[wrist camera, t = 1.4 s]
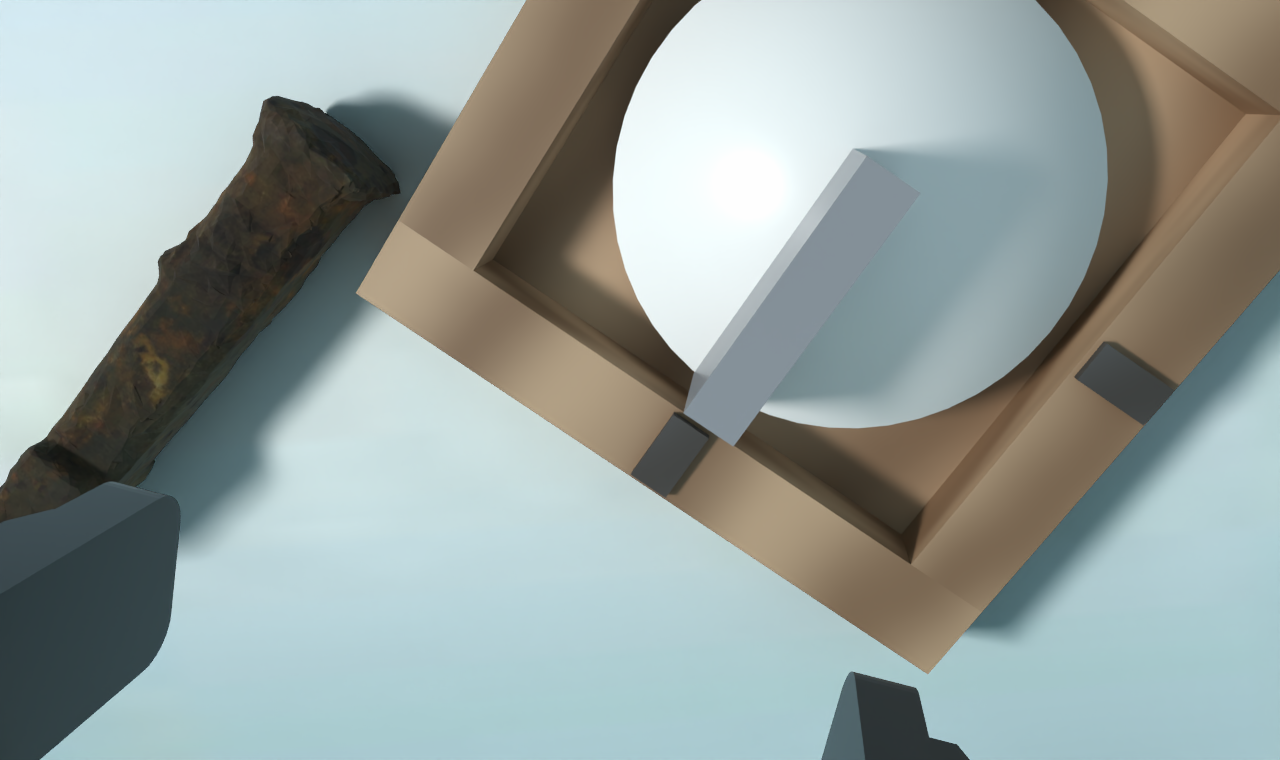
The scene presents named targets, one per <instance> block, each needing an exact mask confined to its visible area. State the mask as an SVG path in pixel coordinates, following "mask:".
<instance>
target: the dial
mask: <svg viewBox="0 0 1280 760" xmlns="http://www.w3.org/2000/svg"><path fill="white" fill-rule="evenodd" d="M1107 183H1108V172H1107V146H1106V140H1105V134H1104V128H1103V122H1102V116H1101V112H1100V109H1099V106H1098V103H1097V100H1096V97H1095V93H1094V90H1093V87H1092V84H1091V82H1090V79H1089V77H1088V75H1087V73H1086V71H1085V69H1084V67H1083V65H1082V63H1081V61H1080V59H1079V57H1078V55H1077V53H1076V51H1075V50H1074V48H1073V47H1072V45H1071V44H1070V42H1069V41H1068V39H1067V38H1066V36H1065V35H1064V33H1063V32H1062V30H1061V29H1060V27H1059V26H1058V25H1057V23H1056V22H1055V21H1054V20H1053V19H1052V18H1051V17H1050V16H1049V15H1048V13H1047V12H1046V11H1045V10H1044V9H1043V8H1042V7H1041V6H1040V5H1039V4H1038V2H1037V1H1036V0H701V1H700V2H698V3H697V4H696V5H695V6H694V7H693V8H692V9H691V10H690V11H689V12H688V13H687V14H686V15H685V16H684V18H683V19H682V20H681V21H680V22H679V23H678V24H677V25H676V26H675V27H674V28H673V29H672V30H671V32H670V33H669V34H668V36H667V37H666V39H665V40H664V41H663V43H662V44H661V46H660V47H659V48H658V50H657V51H656V52H655V54H654V55H653V57H652V58H651V60H650V62H649V64H648V66H647V67H646V69H645V71H644V73H643V75H642V77H641V78H640V80H639V82H638V84H637V86H636V88H635V91H634V93H633V96H632V98H631V101H630V104H629V106H628V109H627V111H626V114H625V116H624V120H623V124H622V128H621V132H620V136H619V140H618V144H617V149H616V157H615V166H614V175H613V212H614V219H615V227H616V234H617V241H618V245H619V248H620V252H621V256H622V259H623V263H624V267H625V270H626V273H627V275H628V278H629V280H630V282H631V285H632V287H633V290H634V292H635V294H636V297H637V299H638V301H639V302H640V304H641V306H642V308H643V309H644V311H645V313H646V314H647V316H648V318H649V320H650V321H651V323H652V325H653V326H654V327H655V329H656V330H657V331H658V333H659V334H660V335H661V337H662V338H663V339H664V340H665V342H666V343H667V344H668V346H669V347H670V348H671V349H672V350H673V351H674V352H675V353H676V354H677V355H678V356H679V357H680V358H681V359H682V360H683V361H684V362H685V363H686V364H687V365H688V366H689V367H690V368H691V369H692V370H693V371H694V374H693V378H692V382H691V386H690V389H689V393H688V397H687V401H686V405H685V409H684V414H685V415H687V416H688V417H690V418H691V419H693V420H694V421H696V422H697V423H699V424H700V425H702V426H703V427H705V428H706V429H708V430H709V431H711V432H712V433H714V434H715V435H717V436H718V437H720V438H721V439H723V440H724V441H726V442H727V443H729V444H730V445H732V446H734V445H735V444H736V442H737V441H738V440H739V438H740V437H741V436H742V434H743V433H744V432H745V430H746V429H747V427H748V426H749V425H750V423H751V422H752V421H753V419H754V418H755V417H756V415H757V414H758V413H759V411H761V412H764V413H766V414H768V415H772V416H775V417H779V418H782V419H786V420H789V421H793V422H796V423H801V424H808V425H815V426H821V427H828V428H867V427H877V426H888V425H893V424H897V423H902V422H906V421H911V420H916V419H920V418H922V417H925V416H928V415H931V414H934V413H937V412H940V411H942V410H945V409H948V408H950V407H952V406H954V405H956V404H958V403H960V402H962V401H964V400H966V399H968V398H970V397H972V396H974V395H976V394H978V393H980V392H981V391H983V390H984V389H986V388H987V387H989V386H990V385H992V384H993V383H995V382H996V381H998V380H999V379H1001V378H1002V377H1004V376H1005V375H1006V374H1007V373H1009V372H1010V371H1011V370H1012V369H1013V368H1014V367H1016V366H1017V365H1018V364H1019V363H1020V362H1022V361H1023V360H1024V359H1025V358H1026V357H1027V356H1028V355H1029V354H1030V353H1031V352H1032V351H1033V350H1034V349H1035V348H1036V347H1037V346H1038V345H1039V344H1040V342H1041V341H1042V340H1043V339H1044V338H1045V337H1046V336H1047V335H1048V334H1049V333H1050V331H1051V330H1052V329H1053V327H1054V326H1055V324H1056V323H1057V322H1058V320H1059V319H1060V317H1061V316H1062V315H1063V313H1064V312H1065V311H1066V309H1067V308H1068V306H1069V305H1070V303H1071V301H1072V299H1073V297H1074V295H1075V294H1076V292H1077V290H1078V288H1079V286H1080V284H1081V282H1082V281H1083V279H1084V277H1085V274H1086V272H1087V269H1088V267H1089V264H1090V261H1091V259H1092V256H1093V254H1094V251H1095V248H1096V246H1097V242H1098V238H1099V233H1100V229H1101V225H1102V221H1103V217H1104V212H1105V202H1106V193H1107Z"/></svg>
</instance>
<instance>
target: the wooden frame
mask: <svg viewBox="0 0 1280 760" xmlns="http://www.w3.org/2000/svg"><path fill="white" fill-rule="evenodd" d="M700 1H701V0H526V2H525V4H524V5H523V7H522V9H521V10H520V12H519V14H518V16H517V17H516V19H515V21H514V22H513V24H512V26H511V28H510V29H509V31H508V33H507V34H506V36H505V38H504V40H503V41H502V43H501V45H500V46H499V48H498V50H497V52H496V53H495V55H494V57H493V58H492V60H491V62H490V64H489V65H488V67H487V69H486V70H485V72H484V74H483V76H482V77H481V79H480V81H479V82H478V84H477V86H476V88H475V89H474V91H473V93H472V95H471V96H470V98H469V100H468V101H467V103H466V105H465V107H464V108H463V110H462V112H461V113H460V115H459V117H458V119H457V120H456V122H455V124H454V125H453V127H452V129H451V131H450V132H449V134H448V136H447V137H446V139H445V141H444V143H443V144H442V146H441V148H440V149H439V151H438V153H437V155H436V156H435V158H434V160H433V161H432V163H431V165H430V167H429V168H428V170H427V172H426V173H425V175H424V177H423V179H422V180H421V182H420V184H419V185H418V187H417V189H416V191H415V192H414V194H413V196H412V197H411V199H410V201H409V203H408V204H407V206H406V208H405V209H404V211H403V213H402V215H401V216H400V218H399V220H398V221H397V223H396V225H395V227H394V228H393V230H392V232H391V233H390V235H389V237H388V239H387V240H386V242H385V244H384V246H383V247H382V249H381V251H380V252H379V254H378V256H377V258H376V259H375V261H374V263H373V264H372V266H371V268H370V270H369V271H368V273H367V275H366V276H365V278H364V280H363V282H362V283H361V285H360V287H359V288H358V290H357V292H356V294H358V295H359V296H361V297H362V298H364V299H365V300H367V301H368V302H370V303H371V304H373V305H374V306H376V307H377V308H379V309H380V310H382V311H383V312H385V313H386V314H388V315H389V316H391V317H392V318H394V319H395V320H397V321H398V322H400V323H401V324H403V325H404V326H406V327H407V328H409V329H410V330H412V331H413V332H415V333H416V334H418V335H419V336H421V337H422V338H424V339H425V340H427V341H428V342H430V343H431V344H433V345H434V346H436V347H437V348H439V349H440V350H442V351H443V352H445V353H446V354H448V355H449V356H451V357H452V358H454V359H455V360H457V361H458V362H460V363H461V364H463V365H464V366H466V367H467V368H469V369H470V370H472V371H473V372H475V373H476V374H478V375H479V376H481V377H482V378H484V379H485V380H487V381H488V382H490V383H491V384H493V385H494V386H496V387H497V388H499V389H500V390H502V391H503V392H505V393H506V394H508V395H509V396H511V397H512V398H514V399H515V400H517V401H518V402H520V403H521V404H523V405H524V406H526V407H527V408H529V409H530V410H532V411H533V412H535V413H536V414H538V415H539V416H541V417H542V418H544V419H545V420H547V421H548V422H550V423H551V424H553V425H554V426H556V427H557V428H559V429H560V430H562V431H563V432H565V433H566V434H568V435H569V436H571V437H572V438H574V439H575V440H577V441H578V442H580V443H581V444H583V445H584V446H586V447H587V448H589V449H590V450H592V451H593V452H595V453H596V454H598V455H599V456H601V457H602V458H604V459H605V460H607V461H608V462H610V463H611V464H613V465H614V466H616V467H617V468H619V469H620V470H622V471H623V472H625V473H626V474H628V475H629V476H631V477H632V478H634V479H635V480H637V481H638V482H640V483H641V484H643V485H644V486H646V487H647V488H649V489H650V490H652V491H653V492H655V493H656V494H658V495H659V496H661V497H662V498H664V499H665V500H667V501H668V502H670V503H671V504H673V505H674V506H676V507H677V508H679V509H680V510H682V511H683V512H685V513H686V514H688V515H689V516H691V517H692V518H694V519H695V520H697V521H698V522H700V523H701V524H703V525H704V526H706V527H707V528H709V529H710V530H712V531H713V532H715V533H716V534H718V535H719V536H721V537H722V538H724V539H725V540H727V541H728V542H730V543H731V544H733V545H734V546H736V547H737V548H739V549H740V550H742V551H743V552H745V553H747V554H748V555H750V556H751V557H753V558H754V559H756V560H757V561H759V562H760V563H762V564H763V565H765V566H766V567H768V568H769V569H771V570H772V571H774V572H775V573H777V574H778V575H780V576H781V577H783V578H784V579H786V580H787V581H789V582H790V583H792V584H793V585H795V586H796V587H798V588H799V589H801V590H802V591H804V592H805V593H807V594H808V595H810V596H811V597H813V598H814V599H816V600H817V601H819V602H820V603H822V604H823V605H825V606H826V607H828V608H829V609H831V610H832V611H834V612H835V613H837V614H838V615H840V616H841V617H843V618H844V619H846V620H847V621H849V622H850V623H852V624H853V625H855V626H856V627H858V628H859V629H861V630H862V631H864V632H865V633H867V634H868V635H870V636H871V637H873V638H874V639H876V640H877V641H879V642H880V643H882V644H883V645H885V646H886V647H888V648H889V649H891V650H892V651H894V652H895V653H897V654H898V655H900V656H901V657H903V658H904V659H906V660H907V661H909V662H910V663H912V664H913V665H915V666H916V667H918V668H919V669H921V670H922V671H924V672H925V673H927V674H929V672H930V671H931V670H932V669H933V668H934V667H935V665H936V664H937V663H938V662H939V661H940V660H941V659H942V657H943V656H944V655H945V654H946V653H947V652H948V651H949V649H950V648H951V647H952V646H953V645H954V644H955V642H956V641H957V640H958V639H959V638H960V637H961V636H962V634H963V633H964V632H965V631H966V630H967V629H968V628H969V626H970V625H971V624H972V623H973V622H974V621H975V620H976V618H977V617H978V616H979V615H980V614H981V613H982V611H983V610H984V609H985V608H986V607H987V606H988V605H989V603H990V602H991V601H992V600H993V599H994V598H995V597H996V595H997V594H998V593H999V592H1000V591H1001V590H1002V588H1003V587H1004V586H1005V585H1006V584H1007V583H1008V582H1009V580H1010V579H1011V578H1012V577H1013V576H1014V575H1015V574H1016V572H1017V571H1018V570H1019V569H1020V568H1021V567H1022V566H1023V564H1024V563H1025V562H1026V561H1027V560H1028V559H1029V557H1030V556H1031V555H1032V554H1033V553H1034V552H1035V551H1036V549H1037V548H1038V547H1039V546H1040V545H1041V544H1042V543H1043V541H1044V540H1045V539H1046V538H1047V537H1048V536H1049V534H1050V533H1051V532H1052V531H1053V530H1054V529H1055V528H1056V526H1057V525H1058V524H1059V523H1060V522H1061V521H1062V520H1063V518H1064V517H1065V516H1066V515H1067V514H1068V513H1069V511H1070V510H1071V509H1072V508H1073V507H1074V506H1075V505H1076V503H1077V502H1078V501H1079V500H1080V499H1081V498H1082V497H1083V495H1084V494H1085V493H1086V492H1087V491H1088V490H1089V489H1090V487H1091V486H1092V485H1093V484H1094V483H1095V482H1096V480H1097V479H1098V478H1099V477H1100V476H1101V475H1102V474H1103V472H1104V471H1105V470H1106V469H1107V468H1108V467H1109V466H1110V464H1111V463H1112V462H1113V461H1114V460H1115V459H1116V457H1117V456H1118V455H1119V454H1120V453H1121V452H1122V451H1123V449H1124V448H1125V447H1126V446H1127V445H1128V444H1129V443H1130V441H1131V440H1132V439H1133V438H1134V437H1135V436H1136V435H1137V433H1138V432H1139V431H1140V430H1141V429H1142V428H1143V426H1144V425H1145V424H1146V423H1147V422H1148V421H1149V420H1150V418H1151V417H1152V416H1153V415H1154V414H1155V413H1156V412H1157V410H1158V409H1159V408H1160V407H1161V406H1162V405H1163V403H1164V402H1165V401H1166V400H1167V399H1168V398H1169V397H1170V395H1171V394H1172V393H1173V392H1174V391H1175V390H1176V389H1177V387H1178V386H1179V385H1180V384H1181V383H1182V382H1183V381H1184V379H1185V378H1186V377H1187V376H1188V375H1189V374H1190V372H1191V371H1192V370H1193V369H1194V368H1195V367H1196V366H1197V364H1198V363H1199V362H1200V361H1201V360H1202V359H1203V358H1204V356H1205V355H1206V354H1207V353H1208V352H1209V351H1210V349H1211V348H1212V347H1213V346H1214V345H1215V344H1216V343H1217V341H1218V340H1219V339H1220V338H1221V337H1222V336H1223V335H1224V333H1225V332H1226V331H1227V330H1228V329H1229V328H1230V326H1231V325H1232V324H1233V323H1234V322H1235V321H1236V320H1237V318H1238V317H1239V316H1240V315H1241V314H1242V313H1243V312H1244V310H1245V309H1246V308H1247V307H1248V306H1249V305H1250V304H1251V302H1252V301H1253V300H1254V299H1255V298H1256V297H1257V295H1258V294H1259V293H1260V292H1261V291H1262V290H1263V289H1264V287H1265V286H1266V285H1267V284H1268V283H1269V282H1270V281H1271V279H1272V278H1273V277H1274V276H1275V275H1276V274H1277V272H1278V271H1279V270H1280V0H1036V1H1037V2H1038V4H1039V5H1040V6H1041V7H1042V8H1043V9H1044V10H1045V11H1046V12H1047V13H1048V15H1049V16H1050V17H1051V18H1052V19H1053V20H1054V21H1055V22H1056V23H1057V25H1058V26H1059V27H1060V29H1061V30H1062V32H1063V33H1064V35H1065V36H1066V38H1067V39H1068V41H1069V42H1070V44H1071V45H1072V47H1073V48H1074V50H1075V51H1076V53H1077V55H1078V57H1079V59H1080V61H1081V63H1082V65H1083V67H1084V69H1085V71H1086V73H1087V75H1088V77H1089V79H1090V82H1091V84H1092V87H1093V90H1094V93H1095V97H1096V100H1097V103H1098V106H1099V109H1100V112H1101V116H1102V122H1103V128H1104V134H1105V140H1106V146H1107V172H1108V183H1107V193H1106V202H1105V212H1104V217H1103V221H1102V225H1101V229H1100V233H1099V238H1098V242H1097V246H1096V248H1095V251H1094V254H1093V256H1092V259H1091V261H1090V264H1089V267H1088V269H1087V272H1086V274H1085V277H1084V279H1083V281H1082V282H1081V284H1080V286H1079V288H1078V290H1077V292H1076V294H1075V295H1074V297H1073V299H1072V301H1071V303H1070V305H1069V306H1068V308H1067V309H1066V311H1065V312H1064V313H1063V315H1062V316H1061V317H1060V319H1059V320H1058V322H1057V323H1056V324H1055V326H1054V327H1053V329H1052V330H1051V331H1050V333H1049V334H1048V335H1047V336H1046V337H1045V338H1044V339H1043V340H1042V341H1041V342H1040V344H1039V345H1038V346H1037V347H1036V348H1035V349H1034V350H1033V351H1032V352H1031V353H1030V354H1029V355H1028V356H1027V357H1026V358H1025V359H1024V360H1023V361H1022V362H1020V363H1019V364H1018V365H1017V366H1016V367H1014V368H1013V369H1012V370H1011V371H1010V372H1009V373H1007V374H1006V375H1005V376H1004V377H1002V378H1001V379H999V380H998V381H996V382H995V383H993V384H992V385H990V386H989V387H987V388H986V389H984V390H983V391H981V392H980V393H978V394H976V395H974V396H972V397H970V398H968V399H966V400H964V401H962V402H960V403H958V404H956V405H954V406H952V407H950V408H948V409H945V410H942V411H940V412H937V413H934V414H931V415H928V416H925V417H922V418H920V419H916V420H911V421H906V422H902V423H897V424H893V425H888V426H877V427H867V428H828V427H821V426H815V425H808V424H801V423H796V422H793V421H789V420H786V419H782V418H779V417H775V416H772V415H768V414H766V413H764V412H761V411H759V413H758V414H757V415H756V417H755V418H754V419H753V421H752V422H751V423H750V425H749V426H748V427H747V429H746V430H745V432H744V433H743V434H742V436H741V437H740V438H739V440H738V441H737V442H736V444H735V445H734V446H732V445H730V444H729V443H727V442H726V441H724V440H723V439H721V438H720V437H718V436H717V435H715V434H714V433H712V432H711V431H709V430H708V429H706V428H705V427H703V426H702V425H700V424H699V423H697V422H696V421H694V420H693V419H691V418H690V417H688V416H687V415H685V414H684V409H685V405H686V401H687V397H688V393H689V389H690V386H691V382H692V378H693V374H694V371H693V370H692V369H691V368H690V367H689V366H688V365H687V364H686V363H685V362H684V361H683V360H682V359H681V358H680V357H679V356H678V355H677V354H676V353H675V352H674V351H673V350H672V349H671V348H670V347H669V346H668V344H667V343H666V342H665V340H664V339H663V338H662V337H661V335H660V334H659V333H658V331H657V330H656V329H655V327H654V326H653V325H652V323H651V321H650V320H649V318H648V316H647V314H646V313H645V311H644V309H643V308H642V306H641V304H640V302H639V301H638V299H637V297H636V294H635V292H634V290H633V287H632V285H631V282H630V280H629V278H628V275H627V273H626V270H625V267H624V263H623V259H622V256H621V252H620V248H619V245H618V241H617V234H616V227H615V219H614V212H613V175H614V166H615V157H616V149H617V144H618V140H619V136H620V132H621V128H622V124H623V120H624V116H625V114H626V111H627V109H628V106H629V104H630V101H631V98H632V96H633V93H634V91H635V88H636V86H637V84H638V82H639V80H640V78H641V77H642V75H643V73H644V71H645V69H646V67H647V66H648V64H649V62H650V60H651V58H652V57H653V55H654V54H655V52H656V51H657V50H658V48H659V47H660V46H661V44H662V43H663V41H664V40H665V39H666V37H667V36H668V34H669V33H670V32H671V30H672V29H673V28H674V27H675V26H676V25H677V24H678V23H679V22H680V21H681V20H682V19H683V18H684V16H685V15H686V14H687V13H688V12H689V11H690V10H691V9H692V8H693V7H694V6H695V5H696V4H697V3H698V2H700Z"/></svg>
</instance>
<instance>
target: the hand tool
mask: <svg viewBox="0 0 1280 760" xmlns="http://www.w3.org/2000/svg"><path fill="white" fill-rule="evenodd" d="M399 193H400V188H399V184H398V181H397V180H396V179H395V176H394V173H393V172H392V171H391V169H390V168H389V167H388V166H387V165H385V164H384V163H383V162H382V161H381V160H380V159H379V158H378V157H377V156H376V155H375V154H374V153H373V152H372V151H371V150H370V148H369V147H368V146H367V145H366V144H365V143H364V142H363V141H362V140H361V139H360V138H359V137H357V136H356V135H355V134H354V133H353V132H352V131H351V130H349V129H348V128H346V127H345V126H343V125H342V124H341V123H339V122H338V121H336V120H335V119H334V118H332V117H331V116H329V115H328V114H326V113H324V112H323V111H322V110H321V109H320V108H314V107H312V106H311V105H309V104H307V103H304V102H298V101H294V100H290V99H287V98H283V97H279V96H272V97H271V98H268V99H266V100H265V101H263V105H262V109H261V113H260V118H259V122H258V124H257V126H256V129H255V131H254V134H253V147H252V149H251V152H250V154H249V156H248V158H247V160H246V162H245V163H244V165H243V166H242V168H241V169H240V171H239V172H238V173H237V175H236V176H235V177H234V178H233V180H232V181H231V183H230V184H229V186H228V187H227V188H226V189H225V190H224V191H223V192H222V194H221V196H220V197H219V199H218V201H217V203H216V204H215V205H214V206H213V208H212V209H211V211H210V212H209V214H208V215H207V216H206V217H205V218H204V219H203V220H202V221H201V222H200V223H198V224H197V225H196V226H195V227H194V228H192V229H191V230H190V231H189V233H188V236H187V238H186V240H185V241H184V242H182V243H181V244H180V245H178V246H175V247H173V248H171V249H169V250H166V251H165V252H164V254H163V255H161V256H160V258H159V260H158V266H159V279H158V283H157V285H156V286H155V287H154V289H153V290H152V291H151V293H150V294H149V296H148V297H147V298H146V300H145V301H144V303H143V304H142V305H141V307H140V308H139V310H138V311H137V313H136V314H135V315H134V317H133V318H132V319H131V320H130V322H129V323H128V324H127V326H126V327H125V328H124V330H123V331H122V332H121V334H120V335H119V336H118V338H117V339H116V341H115V342H114V344H113V345H112V347H111V349H110V350H109V352H108V353H107V355H106V356H105V357H104V358H103V360H102V361H101V362H100V364H99V365H98V366H97V368H96V369H95V370H94V372H93V373H92V375H91V376H90V378H89V379H88V381H87V382H86V384H85V385H84V387H83V388H82V390H81V391H80V393H79V394H78V395H77V397H76V398H75V400H74V401H73V402H72V404H71V405H70V407H69V408H68V410H67V411H66V412H65V414H64V415H63V417H62V418H61V419H60V420H59V421H58V422H57V423H56V424H55V426H54V427H53V428H52V430H51V431H50V433H49V434H48V436H47V437H46V438H45V439H44V440H42V441H41V442H39V443H37V444H35V445H33V446H31V447H29V448H28V449H27V450H26V451H25V452H24V453H23V454H22V455H21V457H20V458H19V460H18V462H17V463H16V464H15V465H14V466H13V468H12V469H11V470H10V472H9V475H8V477H7V480H6V482H5V483H4V484H3V485H2V486H1V487H0V523H2V522H4V521H7V520H11V519H15V518H19V517H23V516H27V515H31V514H35V513H39V512H43V511H47V510H51V509H56V508H58V507H60V506H62V505H64V504H66V503H68V502H69V501H71V500H73V499H75V498H77V497H79V496H81V495H83V494H85V493H86V492H88V491H90V490H92V489H94V488H96V487H98V486H100V485H102V484H104V483H106V482H117V483H121V484H125V485H129V486H133V487H136V486H137V485H138V484H140V483H141V482H142V481H144V480H145V479H146V477H147V475H148V474H149V472H150V470H151V469H152V467H153V464H154V462H155V461H154V458H155V457H156V456H157V455H158V454H159V453H160V451H161V450H162V449H163V448H164V447H165V446H166V445H167V443H168V442H169V441H170V440H171V439H172V438H173V436H174V435H175V434H176V433H177V432H178V431H179V429H180V428H181V427H182V426H183V425H184V424H185V423H186V422H187V421H188V420H189V418H190V417H191V416H192V415H193V414H194V412H195V411H196V410H197V409H198V408H199V406H200V405H201V404H202V403H203V401H204V400H205V399H206V398H207V397H208V396H209V395H210V393H211V392H212V391H213V390H214V389H215V388H216V387H217V386H218V385H219V384H220V383H221V381H222V380H223V379H224V378H225V377H226V376H227V374H228V373H229V371H230V370H231V369H232V367H233V366H234V364H235V363H236V361H237V359H238V358H239V356H240V355H241V354H242V353H243V352H244V351H245V350H246V349H247V347H248V346H249V345H250V344H251V343H252V342H253V340H254V339H255V337H256V336H257V335H258V333H259V332H261V331H262V330H263V329H264V328H266V327H267V326H268V325H269V324H270V323H271V321H272V319H273V318H274V317H275V316H276V315H277V314H278V313H279V312H280V311H281V310H282V309H283V308H284V307H285V306H286V305H287V304H288V303H289V302H290V300H291V299H292V298H293V297H294V296H295V295H296V293H297V292H298V291H299V290H300V289H301V287H302V285H303V283H304V281H305V279H306V278H307V277H308V275H309V274H310V273H311V272H312V271H313V270H314V269H315V268H316V266H317V265H318V263H319V261H320V258H321V256H322V255H323V254H324V253H325V252H326V250H327V249H328V248H329V247H330V246H331V245H332V244H333V242H334V241H335V240H336V239H337V237H338V236H339V234H340V233H341V232H342V231H343V230H344V228H345V227H346V226H347V225H348V224H349V223H350V222H351V221H352V220H353V219H354V218H355V216H356V215H357V214H358V213H359V212H360V210H361V209H362V208H363V207H364V206H365V205H367V204H368V203H370V202H371V201H373V200H377V199H381V198H385V197H389V196H390V195H391V194H399Z"/></svg>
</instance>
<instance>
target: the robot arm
mask: <svg viewBox="0 0 1280 760" xmlns="http://www.w3.org/2000/svg"><path fill="white" fill-rule="evenodd" d="M179 529H180V508H179V505H178V502H177V501H176V499H175V498H173V497H172V496H168V495H164V494H160V493H156V492H152V491H148V490H144V489H141V488H137V487H133V486H129V485H125V484H121V483H117V482H106V483H104V484H102V485H100V486H98V487H96V488H94V489H92V490H90V491H88V492H86V493H85V494H83V495H81V496H79V497H77V498H75V499H73V500H71V501H69V502H68V503H66V504H64V505H62V506H60V507H58V508H56V509H51V510H47V511H43V512H39V513H35V514H31V515H27V516H23V517H19V518H15V519H11V520H7V521H4V522H2V523H0V760H40V759H41V758H42V757H43V756H45V755H46V754H47V753H48V752H49V751H50V750H52V749H53V748H54V747H55V746H56V745H57V744H59V743H60V742H61V741H62V740H63V739H64V738H66V737H67V736H68V735H69V734H70V733H71V732H73V731H74V730H75V729H76V728H77V727H78V726H80V725H81V724H82V723H83V722H84V721H85V720H87V719H88V718H89V717H90V716H91V715H92V714H94V713H95V712H96V711H97V710H98V709H100V708H101V707H102V706H103V705H104V704H105V703H107V702H108V701H109V700H110V699H111V698H112V697H114V696H115V695H116V694H117V693H118V692H119V691H121V690H122V689H123V688H124V687H125V686H126V685H128V684H129V683H130V682H131V681H132V680H133V679H135V678H136V677H137V676H138V675H139V674H140V673H142V672H143V671H144V670H145V669H146V668H147V667H148V666H149V665H150V663H151V662H152V661H153V659H154V658H155V656H156V655H157V653H158V651H159V650H160V648H161V646H162V644H163V641H164V639H165V636H166V634H167V630H168V627H169V623H170V618H171V609H172V599H173V589H174V579H175V569H176V559H177V549H178V539H179ZM821 760H969V758H968V757H967V756H966V755H965V754H964V752H963V751H962V750H961V749H960V748H959V746H958V745H957V744H953V743H949V742H945V741H941V740H937V739H933V738H929V735H928V731H927V727H926V722H925V718H924V714H923V710H922V705H921V701H920V697H919V693H918V690H917V689H916V688H914V687H910V686H906V685H902V684H899V683H895V682H891V681H887V680H883V679H879V678H875V677H871V676H867V675H863V674H859V673H855V672H850V673H849V674H848V676H847V678H846V680H845V682H844V685H843V688H842V691H841V694H840V698H839V701H838V705H837V708H836V711H835V715H834V718H833V722H832V725H831V729H830V732H829V735H828V739H827V742H826V746H825V749H824V753H823V756H822V759H821Z"/></svg>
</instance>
